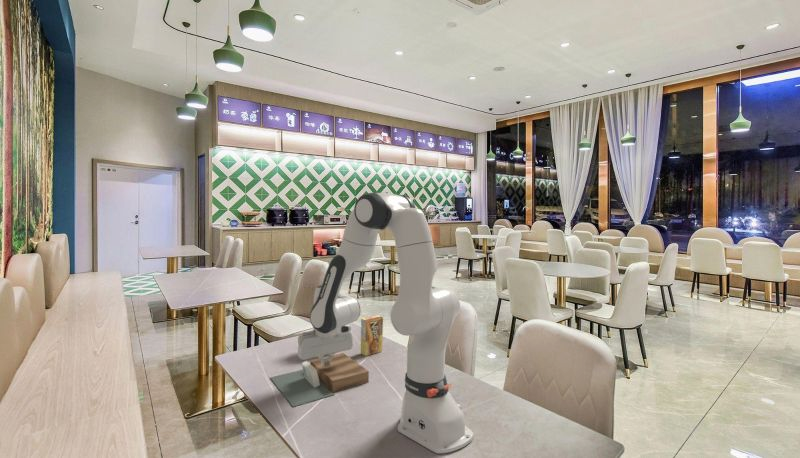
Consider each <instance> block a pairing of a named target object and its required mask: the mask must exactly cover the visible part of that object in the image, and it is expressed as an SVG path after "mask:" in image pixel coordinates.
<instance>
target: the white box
mask: <svg viewBox="0 0 800 458" xmlns="http://www.w3.org/2000/svg"><path fill="white" fill-rule="evenodd" d="M301 367H302V370H303V372H304V376H305V379H306V380H307V381H308V382H309V383H310V384H311V385H312V386H313V387H314V388H315V387H317V386H319V385H320V383H319V379H318V374H317V370H316V369H315V368H314V367H313V366H312V365H311V364H310V362H309V361H308V360H304V361H303V362H302V363H301Z"/></svg>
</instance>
